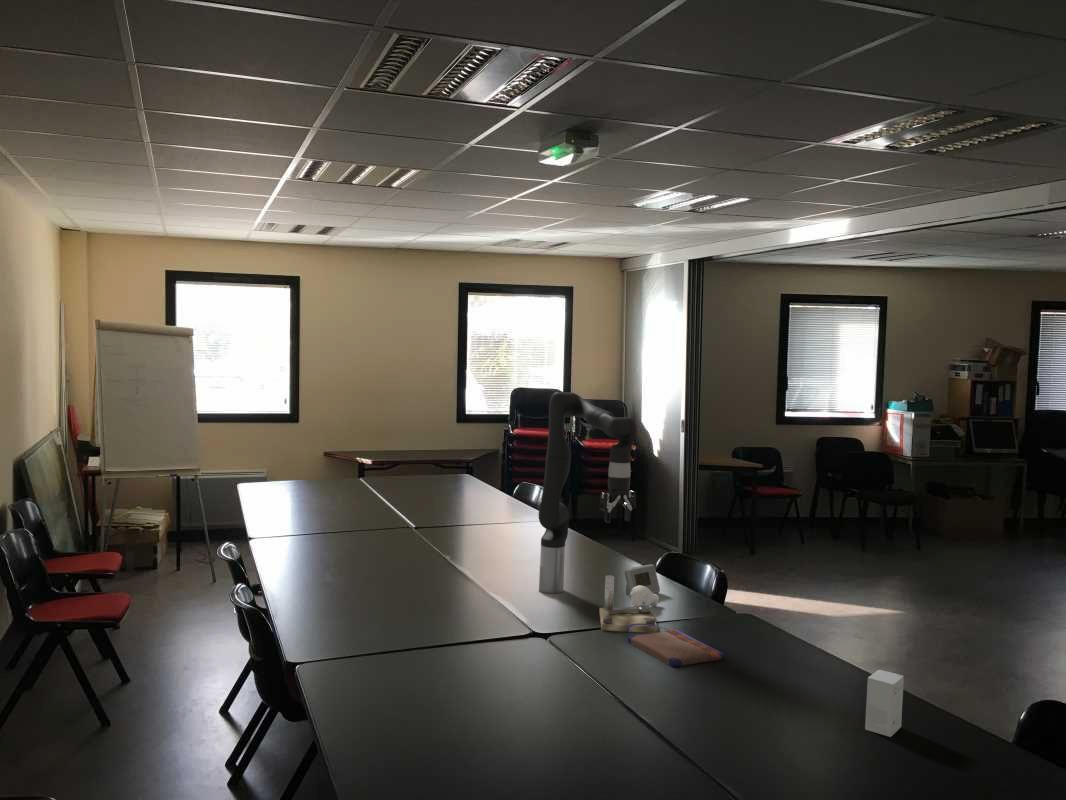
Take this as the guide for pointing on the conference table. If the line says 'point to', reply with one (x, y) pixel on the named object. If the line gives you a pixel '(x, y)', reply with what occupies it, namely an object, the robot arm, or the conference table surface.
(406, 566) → the conference table surface
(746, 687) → the conference table surface
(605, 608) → the footscrew lever
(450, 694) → the conference table surface
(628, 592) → the digital clock
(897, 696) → the small box
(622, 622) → the tribrach base
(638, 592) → the white lumpy figure
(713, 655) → the clutch
